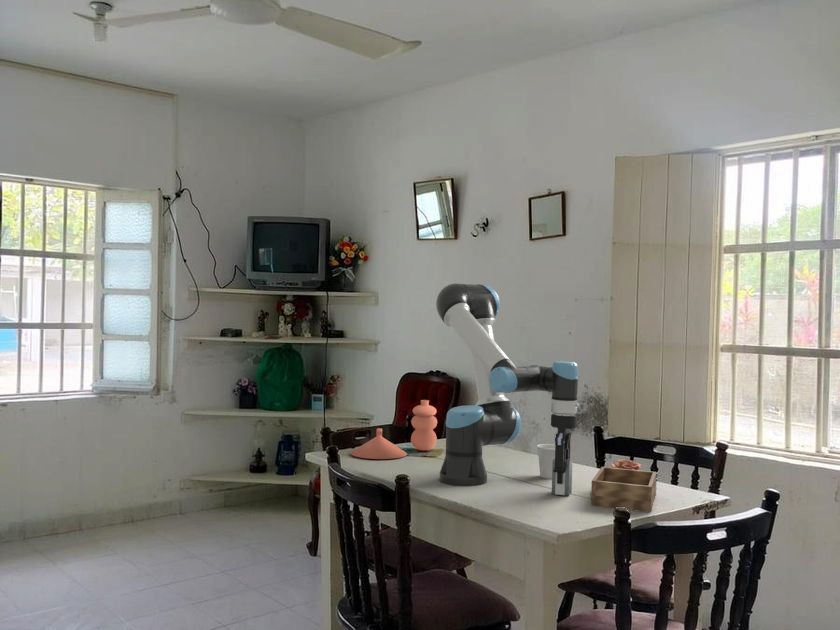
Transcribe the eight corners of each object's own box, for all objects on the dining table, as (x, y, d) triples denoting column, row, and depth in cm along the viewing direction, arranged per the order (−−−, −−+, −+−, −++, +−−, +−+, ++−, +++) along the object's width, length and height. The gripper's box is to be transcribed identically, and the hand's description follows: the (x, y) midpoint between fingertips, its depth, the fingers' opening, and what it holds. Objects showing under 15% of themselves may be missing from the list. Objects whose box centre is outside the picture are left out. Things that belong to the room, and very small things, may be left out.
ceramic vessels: (366, 460, 262) (367, 407, 262) (340, 450, 280) (342, 400, 280) (449, 453, 280) (450, 403, 280) (420, 443, 298) (421, 396, 298)
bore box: (591, 505, 208) (591, 480, 207) (601, 489, 227) (601, 466, 227) (651, 512, 202) (651, 487, 202) (656, 495, 221) (656, 472, 221)
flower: (644, 484, 236) (644, 458, 236) (636, 489, 228) (637, 463, 228) (613, 479, 241) (614, 455, 241) (605, 485, 233) (606, 459, 233)
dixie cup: (541, 472, 249) (542, 442, 249) (565, 476, 245) (566, 445, 245) (532, 477, 242) (532, 446, 242) (556, 480, 238) (557, 449, 238)
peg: (551, 494, 220) (552, 460, 219) (554, 490, 224) (555, 457, 224) (568, 496, 218) (569, 461, 218) (571, 492, 222) (572, 458, 222)
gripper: (571, 418, 211) (569, 500, 211) (581, 411, 228) (579, 487, 228) (545, 416, 214) (542, 497, 214) (557, 409, 231) (554, 484, 231)
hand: (561, 492), depth 221 cm, fingers closed on peg, 5 cm apart
